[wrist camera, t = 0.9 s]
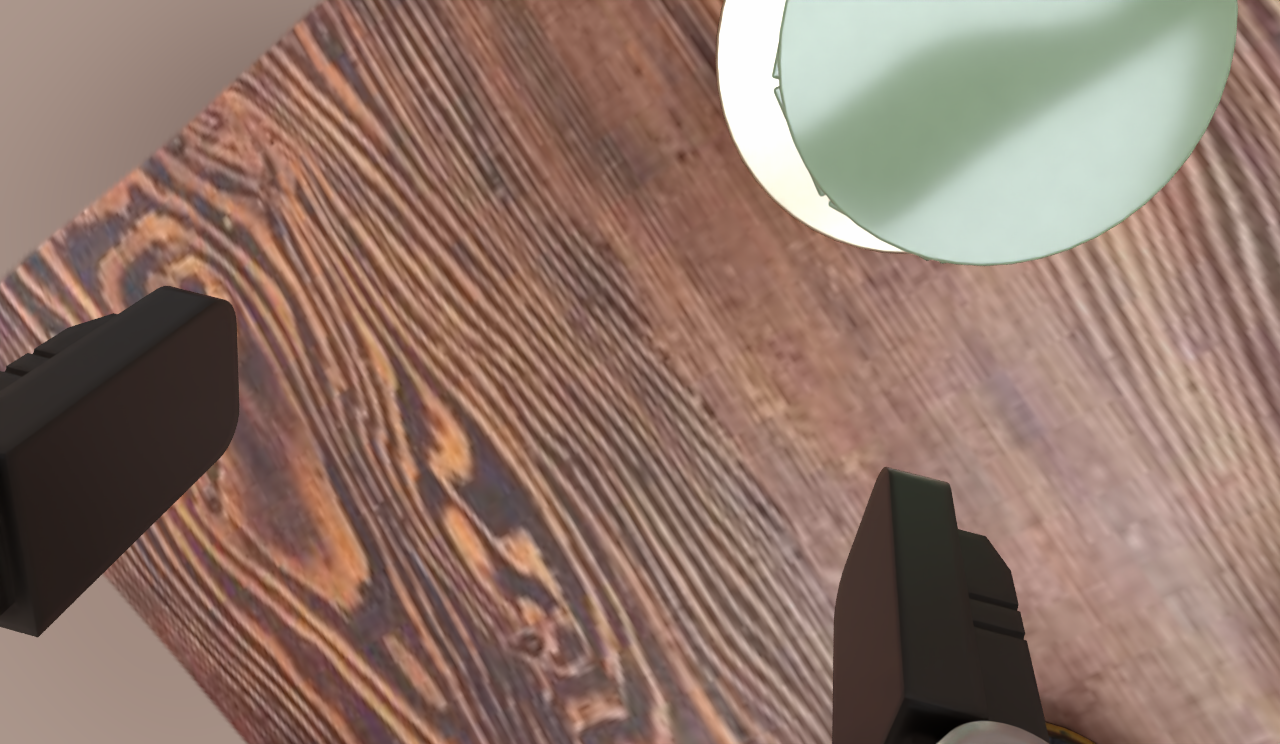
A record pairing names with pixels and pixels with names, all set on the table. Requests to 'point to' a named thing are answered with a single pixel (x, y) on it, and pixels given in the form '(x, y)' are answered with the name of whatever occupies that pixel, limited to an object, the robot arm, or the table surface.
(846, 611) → the robot arm
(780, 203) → the towel holder
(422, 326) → the table surface
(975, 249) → the green grooved cylinder
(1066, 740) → the apothecary jar
